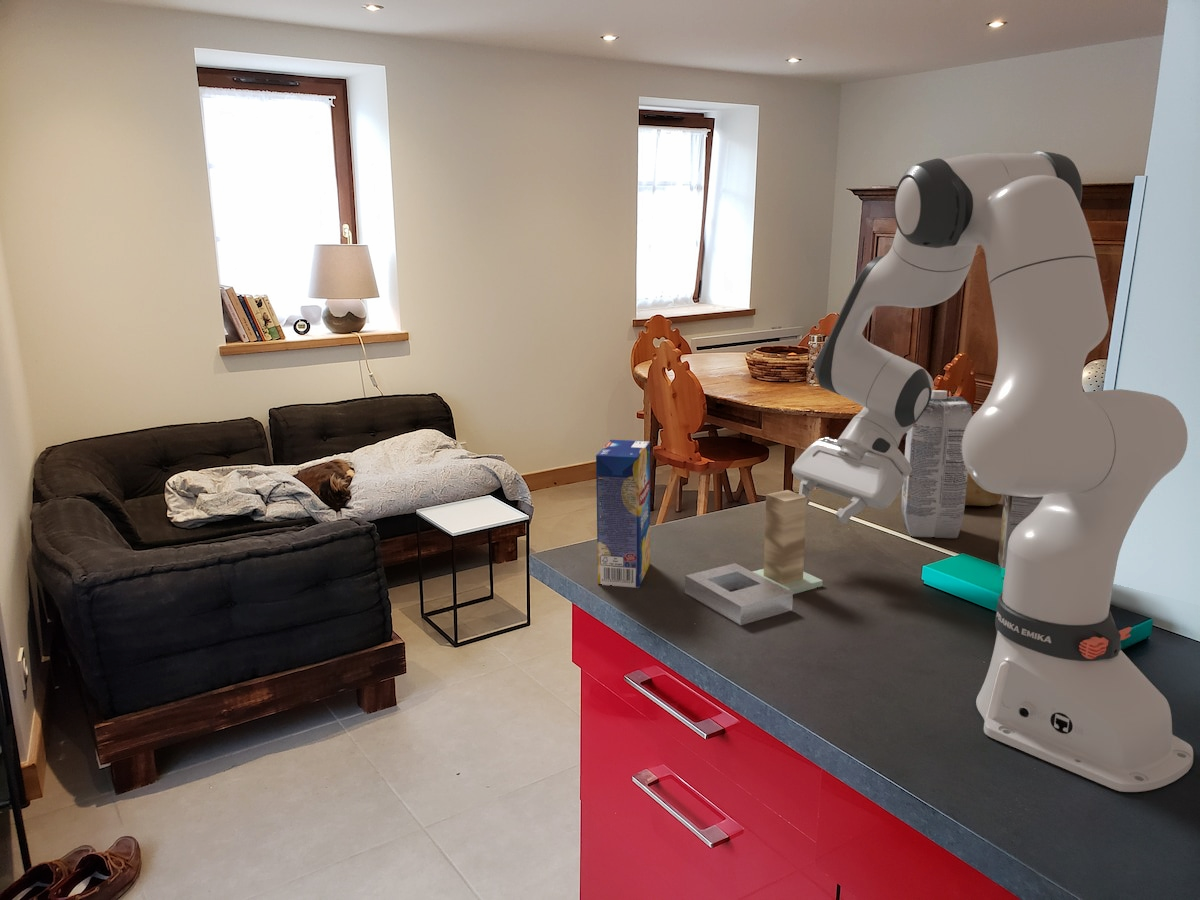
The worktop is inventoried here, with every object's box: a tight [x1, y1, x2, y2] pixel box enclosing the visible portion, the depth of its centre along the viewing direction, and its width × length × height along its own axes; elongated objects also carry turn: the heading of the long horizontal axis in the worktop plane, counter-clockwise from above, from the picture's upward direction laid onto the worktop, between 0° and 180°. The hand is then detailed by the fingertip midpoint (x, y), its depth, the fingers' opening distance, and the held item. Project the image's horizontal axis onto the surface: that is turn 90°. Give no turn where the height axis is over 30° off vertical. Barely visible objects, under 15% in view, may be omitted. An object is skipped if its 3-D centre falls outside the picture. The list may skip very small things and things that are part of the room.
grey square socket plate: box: [684, 562, 794, 626], centre depth 139 cm, size 14×10×3 cm
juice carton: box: [900, 389, 974, 539], centre depth 166 cm, size 9×10×27 cm
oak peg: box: [763, 489, 807, 584], centre depth 144 cm, size 4×4×14 cm
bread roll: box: [965, 473, 1002, 507], centre depth 184 cm, size 10×15×8 cm, turn 79°
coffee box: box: [997, 495, 1044, 568], centre depth 148 cm, size 9×6×16 cm
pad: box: [752, 568, 824, 595], centre depth 146 cm, size 9×9×1 cm
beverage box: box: [595, 439, 651, 588], centre depth 148 cm, size 7×11×22 cm, turn 167°
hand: (818, 512), depth 148 cm, fingers open, 8 cm apart
